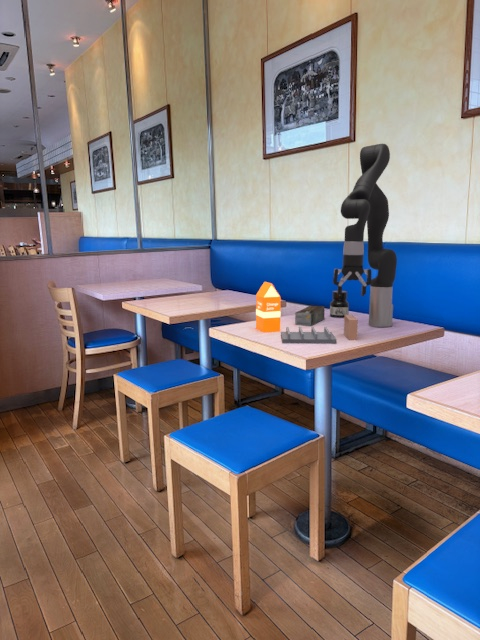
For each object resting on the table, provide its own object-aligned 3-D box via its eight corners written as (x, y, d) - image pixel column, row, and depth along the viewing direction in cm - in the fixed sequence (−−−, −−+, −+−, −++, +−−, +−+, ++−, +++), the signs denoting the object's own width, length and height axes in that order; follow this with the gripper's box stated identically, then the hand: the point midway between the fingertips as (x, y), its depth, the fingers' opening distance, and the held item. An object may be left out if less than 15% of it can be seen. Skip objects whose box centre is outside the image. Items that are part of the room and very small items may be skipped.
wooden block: (351, 334, 193) (352, 314, 192) (356, 340, 183) (357, 319, 182) (343, 334, 193) (344, 314, 192) (348, 340, 183) (349, 319, 182)
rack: (331, 335, 191) (331, 327, 190) (336, 343, 178) (336, 334, 178) (280, 335, 192) (281, 326, 191) (282, 343, 179) (282, 334, 178)
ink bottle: (327, 317, 229) (328, 292, 227) (329, 314, 238) (330, 290, 235) (348, 318, 227) (349, 293, 225) (349, 315, 235) (350, 290, 233)
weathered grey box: (294, 325, 213) (294, 310, 211) (309, 318, 229) (309, 304, 228) (311, 326, 209) (311, 312, 208) (325, 319, 226) (325, 305, 224)
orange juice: (272, 327, 208) (272, 281, 204) (280, 331, 199) (281, 283, 196) (255, 328, 205) (255, 281, 201) (263, 332, 197) (263, 284, 193)
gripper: (370, 253, 186) (367, 294, 189) (332, 252, 186) (331, 294, 189) (374, 254, 178) (372, 297, 181) (335, 253, 179) (334, 297, 182)
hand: (351, 295), depth 185 cm, fingers open, 8 cm apart
